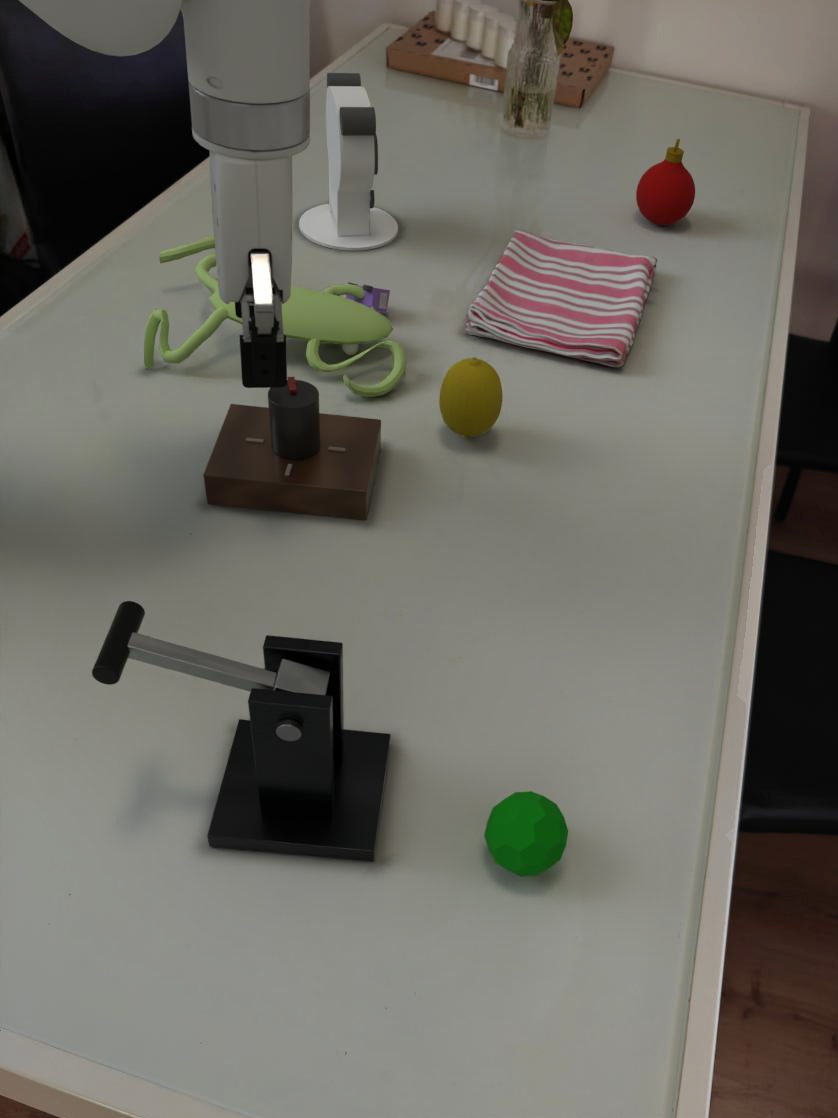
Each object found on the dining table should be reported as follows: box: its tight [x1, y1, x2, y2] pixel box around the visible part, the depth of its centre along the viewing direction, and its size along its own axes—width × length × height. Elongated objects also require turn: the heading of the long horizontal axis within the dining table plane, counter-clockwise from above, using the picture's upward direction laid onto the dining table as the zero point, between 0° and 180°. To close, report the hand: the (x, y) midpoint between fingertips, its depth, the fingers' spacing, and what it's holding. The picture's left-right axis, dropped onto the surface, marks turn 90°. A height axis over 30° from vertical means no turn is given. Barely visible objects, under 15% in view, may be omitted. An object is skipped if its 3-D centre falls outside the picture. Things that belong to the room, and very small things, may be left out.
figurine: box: [143, 235, 407, 398], centre depth 100 cm, size 18×27×6 cm
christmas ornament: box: [635, 138, 696, 226], centre depth 124 cm, size 7×7×10 cm
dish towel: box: [464, 229, 658, 368], centre depth 110 cm, size 17×23×4 cm
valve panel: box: [202, 403, 382, 521], centre depth 86 cm, size 13×10×3 cm
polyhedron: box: [483, 791, 569, 877], centre depth 62 cm, size 5×5×5 cm
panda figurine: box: [298, 72, 399, 252], centre depth 113 cm, size 12×11×15 cm
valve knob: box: [267, 376, 321, 460], centre depth 83 cm, size 4×4×5 cm
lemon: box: [438, 357, 504, 439], centre depth 90 cm, size 6×6×8 cm
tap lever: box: [91, 600, 330, 695], centre depth 57 cm, size 12×5×2 cm, turn 87°
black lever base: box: [206, 634, 392, 863], centre depth 61 cm, size 10×9×12 cm
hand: (260, 349), depth 78 cm, fingers open, 9 cm apart
